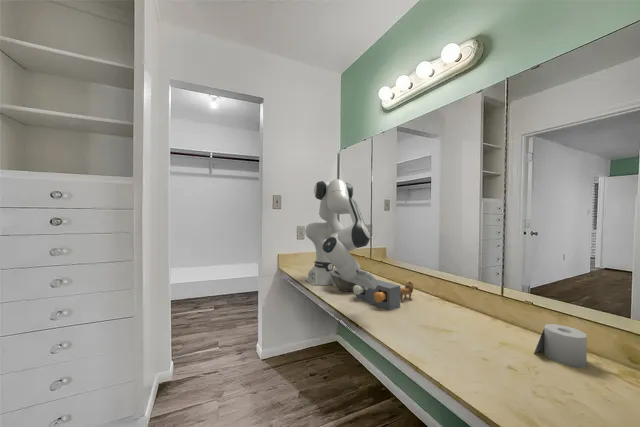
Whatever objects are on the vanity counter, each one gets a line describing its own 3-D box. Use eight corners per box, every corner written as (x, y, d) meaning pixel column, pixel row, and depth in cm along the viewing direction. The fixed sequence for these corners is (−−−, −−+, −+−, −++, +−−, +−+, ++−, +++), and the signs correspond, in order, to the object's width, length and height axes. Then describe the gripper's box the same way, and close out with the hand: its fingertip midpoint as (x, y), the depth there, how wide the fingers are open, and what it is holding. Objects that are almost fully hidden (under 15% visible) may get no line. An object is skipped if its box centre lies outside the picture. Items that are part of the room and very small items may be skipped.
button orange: (373, 301, 118) (373, 290, 118) (380, 299, 121) (380, 289, 121) (381, 304, 114) (381, 293, 114) (388, 302, 117) (388, 291, 117)
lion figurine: (406, 296, 136) (406, 279, 136) (415, 298, 132) (415, 281, 132) (391, 302, 126) (391, 284, 127) (400, 304, 122) (400, 286, 123)
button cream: (353, 293, 129) (353, 284, 130) (359, 292, 132) (359, 283, 132) (359, 296, 126) (359, 286, 126) (366, 294, 128) (366, 285, 128)
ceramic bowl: (324, 292, 141) (324, 275, 141) (334, 282, 163) (334, 267, 163) (363, 297, 134) (363, 278, 134) (369, 285, 156) (369, 269, 156)
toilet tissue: (525, 351, 80) (525, 325, 80) (563, 350, 82) (563, 323, 82) (555, 369, 71) (554, 338, 71) (596, 366, 73) (596, 337, 73)
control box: (355, 297, 133) (356, 278, 133) (366, 294, 138) (366, 276, 138) (389, 310, 115) (389, 288, 115) (400, 306, 120) (400, 285, 120)
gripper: (371, 266, 99) (387, 287, 105) (338, 259, 116) (353, 277, 121) (363, 279, 96) (380, 300, 102) (330, 270, 113) (346, 288, 119)
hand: (365, 288), depth 112 cm, fingers closed
